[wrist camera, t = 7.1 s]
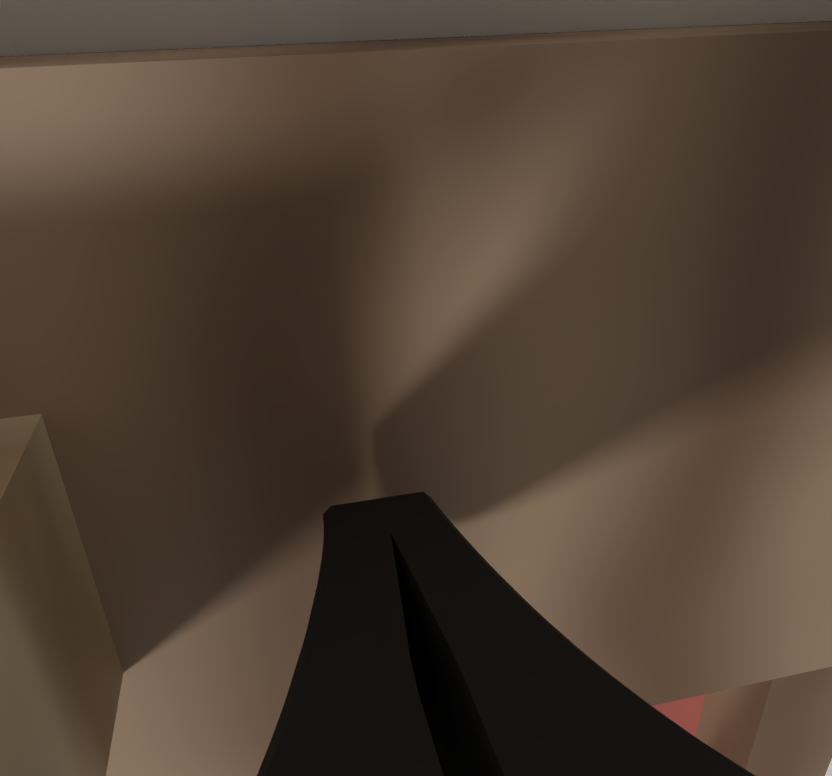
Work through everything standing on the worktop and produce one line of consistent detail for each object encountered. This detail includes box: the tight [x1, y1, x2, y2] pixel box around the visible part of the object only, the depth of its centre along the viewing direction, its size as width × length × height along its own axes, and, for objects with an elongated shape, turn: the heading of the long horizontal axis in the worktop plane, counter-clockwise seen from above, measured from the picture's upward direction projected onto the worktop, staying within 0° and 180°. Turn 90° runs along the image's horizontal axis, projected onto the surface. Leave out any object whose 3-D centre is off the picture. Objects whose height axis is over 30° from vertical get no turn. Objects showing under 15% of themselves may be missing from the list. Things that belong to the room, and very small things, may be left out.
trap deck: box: [0, 21, 832, 776], centre depth 12 cm, size 21×20×4 cm
